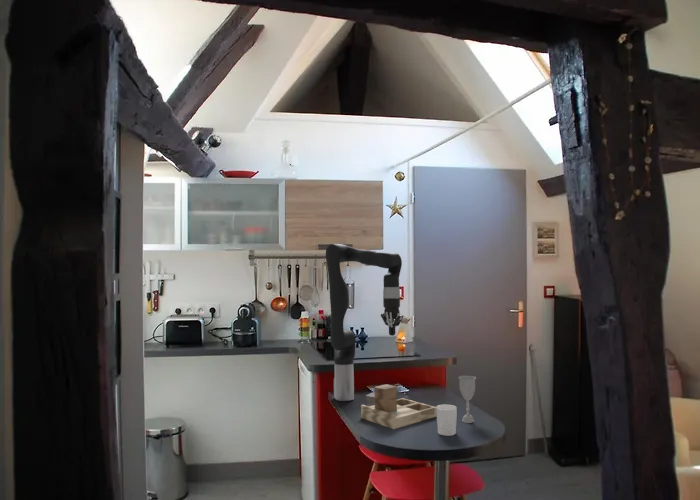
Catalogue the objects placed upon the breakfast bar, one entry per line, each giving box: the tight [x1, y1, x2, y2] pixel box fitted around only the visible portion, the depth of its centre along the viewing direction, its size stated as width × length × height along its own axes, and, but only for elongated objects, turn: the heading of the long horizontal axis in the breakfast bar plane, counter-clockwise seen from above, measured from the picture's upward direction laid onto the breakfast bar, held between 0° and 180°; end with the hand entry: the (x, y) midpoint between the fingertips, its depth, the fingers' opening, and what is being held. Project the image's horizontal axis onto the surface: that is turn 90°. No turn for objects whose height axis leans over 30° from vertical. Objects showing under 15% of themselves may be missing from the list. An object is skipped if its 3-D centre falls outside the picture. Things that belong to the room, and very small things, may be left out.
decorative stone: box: [365, 392, 375, 406], centre depth 240 cm, size 15×7×10 cm
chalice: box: [458, 375, 477, 424], centre depth 219 cm, size 7×7×18 cm
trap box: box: [360, 397, 437, 430], centre depth 225 cm, size 20×25×6 cm
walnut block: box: [374, 383, 398, 413], centre depth 221 cm, size 6×7×10 cm
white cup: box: [435, 403, 458, 437], centre depth 204 cm, size 8×8×10 cm
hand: (392, 335), depth 239 cm, fingers closed
